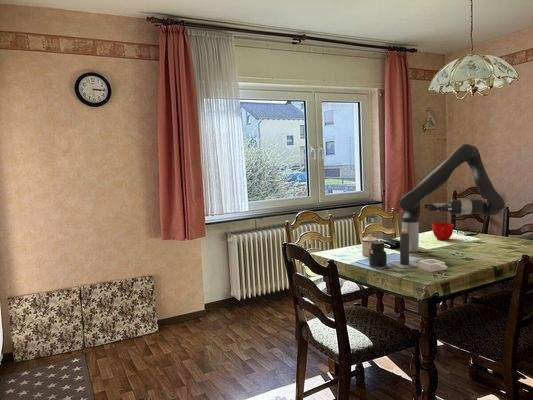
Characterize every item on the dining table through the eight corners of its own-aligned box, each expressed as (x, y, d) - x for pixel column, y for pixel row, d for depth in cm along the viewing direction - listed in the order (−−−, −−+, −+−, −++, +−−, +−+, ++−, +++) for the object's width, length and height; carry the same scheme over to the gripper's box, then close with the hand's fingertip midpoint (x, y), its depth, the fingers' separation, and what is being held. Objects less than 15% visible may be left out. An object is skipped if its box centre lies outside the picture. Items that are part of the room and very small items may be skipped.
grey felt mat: (387, 263, 219) (387, 262, 219) (407, 260, 223) (407, 260, 223) (401, 268, 208) (401, 267, 208) (421, 266, 212) (421, 265, 212)
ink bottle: (385, 262, 222) (385, 240, 221) (389, 266, 213) (389, 243, 212) (367, 263, 222) (366, 240, 221) (370, 267, 214) (369, 244, 212)
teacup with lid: (370, 257, 234) (369, 236, 233) (358, 254, 242) (358, 234, 241) (385, 254, 241) (384, 234, 240) (373, 251, 248) (372, 232, 247)
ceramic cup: (431, 242, 268) (431, 226, 267) (432, 237, 284) (432, 222, 283) (453, 242, 263) (453, 227, 262) (453, 237, 279) (453, 222, 278)
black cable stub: (398, 263, 217) (398, 230, 215) (405, 262, 218) (405, 229, 217) (403, 265, 213) (403, 231, 211) (411, 264, 214) (410, 230, 212)
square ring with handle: (418, 267, 209) (418, 260, 209) (432, 265, 212) (432, 258, 211) (438, 274, 195) (438, 267, 195) (454, 272, 198) (454, 265, 197)
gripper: (455, 198, 216) (423, 198, 218) (465, 201, 202) (430, 201, 204) (455, 212, 217) (423, 212, 219) (464, 216, 202) (430, 216, 205)
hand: (426, 207), depth 211 cm, fingers open, 8 cm apart
